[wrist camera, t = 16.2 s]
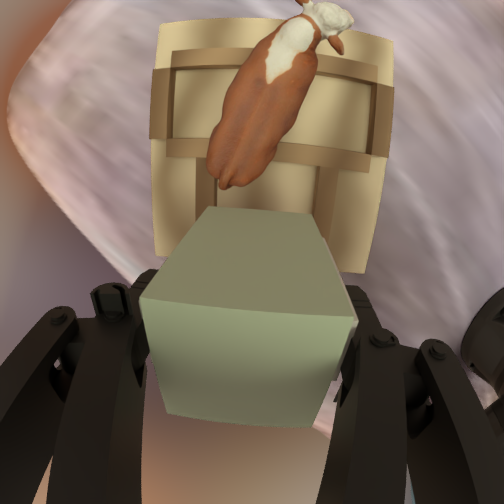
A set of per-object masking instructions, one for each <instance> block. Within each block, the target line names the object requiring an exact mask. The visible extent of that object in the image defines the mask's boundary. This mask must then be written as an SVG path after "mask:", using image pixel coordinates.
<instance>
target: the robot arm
mask: <svg viewBox="0 0 504 504" xmlns="http://www.w3.org/2000/svg"><path fill="white" fill-rule="evenodd" d="M323 241H324V243H325V245H326V248H327V250H328V252H329V255H330V257H331V259H332V262H333V264H334V266H335V269H336V271H337V274H338V276H339V279H340V281H341V284H342V286H343V289H344V291H345V294H346V296H347V299H348V301H349V304H350V306H351V309H352V312H353V314H354V320H353V323H352V326H351V329H350V332H349V335H348V338H347V341H346V344H345V346H344V349H343V352H342V355H341V357H340V360H339V363H338V365H337V368H336V371H335V373H334V376H333V378H332V381H336V380H337V378H338V375H339V373H340V370H341V374H342V379H343V381H342V383H341V386H340V388H339V390H338V392H337V394H336V396H335V399H334V401H333V402H337V406H336V413H335V419H334V424H333V430H332V435H331V440H330V446H329V450H328V455H327V460H326V465H325V469H324V473H323V477H322V481H321V485H320V489H319V493H318V497H317V500H316V504H404V500H405V488H406V471H407V464H408V469H409V474H410V479H411V497H412V504H504V289H502V290H501V291H499V292H498V293H497V294H496V295H495V296H493V297H492V298H491V299H490V300H489V301H488V302H487V303H486V305H485V306H484V307H483V308H482V309H481V311H480V312H479V313H478V315H477V316H476V317H475V319H474V320H473V322H472V324H471V325H470V327H469V329H468V331H467V333H466V335H465V338H464V340H463V344H462V349H461V354H462V358H463V360H464V361H465V363H466V365H467V366H468V368H469V369H470V370H471V371H472V372H474V373H475V374H476V375H478V376H479V377H480V378H482V379H483V380H484V381H486V382H487V383H488V384H490V385H491V386H492V387H493V388H494V390H495V392H496V393H497V395H498V397H499V398H498V399H497V400H496V401H495V402H494V403H492V404H491V405H490V406H489V407H487V408H486V409H485V410H484V409H483V407H482V405H481V402H480V400H479V398H478V396H477V394H476V392H475V390H474V388H473V387H472V385H471V383H470V381H469V379H468V377H467V375H466V373H465V372H464V370H463V368H462V366H461V364H460V363H459V361H458V359H457V357H456V356H455V354H454V352H453V351H452V349H451V348H450V347H449V346H448V345H447V344H445V343H444V342H443V341H440V340H437V339H427V340H425V341H424V342H423V343H422V344H421V346H420V348H419V349H417V348H412V347H407V346H403V345H400V344H399V341H398V338H397V337H396V336H395V335H394V334H393V333H392V332H390V331H389V330H387V329H384V328H382V326H381V324H380V322H379V320H378V318H377V316H376V314H375V311H374V309H373V308H372V305H371V303H370V302H369V299H368V297H367V295H366V293H365V292H364V291H363V290H362V289H361V288H359V287H358V286H351V285H344V282H343V280H342V278H341V275H340V273H339V270H338V268H337V266H336V263H335V261H334V259H333V256H332V254H331V252H330V250H329V247H328V245H327V243H326V241H325V238H323ZM158 271H159V270H156V269H149V270H147V271H145V272H144V273H142V274H141V275H140V276H139V277H138V278H137V280H136V282H134V283H133V285H132V286H131V288H130V289H128V287H127V286H126V285H124V284H121V283H106V284H103V285H100V286H98V287H96V288H95V289H93V291H92V292H91V293H90V295H91V299H92V302H93V306H94V310H95V313H96V316H95V318H77V317H76V313H75V311H74V310H73V309H72V308H70V307H68V306H59V307H55V308H53V309H51V310H50V311H48V312H47V313H46V314H45V315H44V316H43V317H42V318H41V319H40V320H39V321H38V322H37V323H36V324H35V326H34V327H33V328H32V329H31V330H30V331H29V332H28V333H27V335H26V336H25V337H24V338H23V339H22V340H21V342H20V343H19V344H18V345H17V346H16V347H15V349H14V350H13V351H12V353H10V355H9V356H8V357H7V358H6V360H5V361H4V362H3V364H2V365H1V366H0V504H32V502H33V500H34V497H35V494H36V492H37V490H38V487H39V485H40V482H41V480H42V478H43V476H44V473H45V471H46V469H47V466H48V464H49V462H50V460H51V458H52V456H53V459H52V464H51V470H50V477H49V483H48V492H47V501H46V504H142V498H141V453H142V452H141V451H142V429H143V412H144V399H145V388H146V377H147V366H146V362H145V360H146V358H147V356H148V354H149V353H150V357H151V361H152V356H151V352H150V348H149V344H148V339H147V335H146V330H145V325H144V320H143V315H142V310H141V304H140V298H139V297H140V296H141V294H142V293H143V291H144V290H145V289H146V287H147V286H148V284H149V283H150V282H151V280H152V279H153V277H154V276H155V275H156V273H157V272H158ZM57 359H58V360H59V362H60V365H59V366H58V367H57V368H55V366H54V363H55V362H56V360H57ZM152 363H153V361H152ZM429 396H430V398H431V400H432V404H431V403H430V401H429V399H428V398H429Z"/></svg>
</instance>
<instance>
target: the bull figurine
mask: <svg viewBox="0 0 504 504" xmlns="http://www.w3.org/2000/svg"><path fill="white" fill-rule="evenodd" d="M295 1H296V2H297V3H298V4H299V5H301V6H302V7H303V8H304V10H303V12H302V13H301V14H300V15H297V16H294V17H292V18H290V19H288V20H286V21H284V22H283V23H281V24H280V25H279V26H278V27H277V28H276V30H275V31H273V32H272V33H270V34H269V35H268V36H266V37H265V38H263V39H262V40H260V41H259V42H258V43H257V45H256V46H255V47H254V49H253V50H252V52H251V54H250V55H249V57H248V58H247V60H246V61H245V62H244V63H243V64H242V66H241V67H240V69H239V70H238V72H237V74H236V75H235V77H234V79H233V81H232V83H231V84H230V86H229V87H228V89H227V92H226V94H225V98H224V102H223V107H222V117H221V120H220V122H219V123H218V124H217V125H216V126H215V127H214V129H213V131H212V133H211V136H210V140H209V146H208V151H207V156H206V168H207V171H208V173H209V174H210V175H211V176H213V177H214V178H216V179H219V182H218V187H219V189H221V190H227V189H229V188H231V187H232V186H237V187H244V186H246V185H248V184H250V183H251V182H252V181H254V180H255V179H257V178H258V177H259V176H261V175H262V174H263V172H264V171H265V169H266V167H267V166H268V164H269V163H270V162H271V161H272V159H273V158H274V156H275V154H276V151H277V144H278V143H279V142H280V140H281V139H282V137H283V136H284V135H285V134H287V133H288V131H289V130H290V129H291V128H292V127H293V125H294V123H295V122H296V119H297V116H298V113H299V110H300V108H301V105H302V103H303V101H304V99H305V97H306V95H307V92H308V90H309V87H310V85H311V83H312V81H313V79H314V77H315V74H316V71H317V67H318V58H317V55H316V52H315V50H316V48H317V45H318V44H319V43H320V42H321V41H322V40H325V39H327V40H328V42H329V43H330V45H331V46H332V47H333V49H334V50H336V52H337V53H338V54H339V55H341V56H342V55H344V45H343V42H342V41H341V40H340V38H339V37H338V35H339V34H340V33H342V32H343V31H344V30H346V29H348V28H350V27H351V26H352V24H353V23H354V19H353V18H352V16H351V15H350V13H349V12H348V11H347V10H344V9H341V8H340V7H339V6H337V5H336V4H333V3H329V2H321V3H317V4H314V3H313V2H312V1H311V0H295Z"/></svg>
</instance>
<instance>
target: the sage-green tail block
mask: <svg viewBox="0 0 504 504" xmlns="http://www.w3.org/2000/svg"><path fill="white" fill-rule="evenodd" d="M139 298H140V304H141V310H142V315H143V320H144V325H145V330H146V335H147V339H148V344H149V348H150V352H151V356H152V361H153V364H154V369H155V372H156V376H157V380H158V383H159V387H160V390H161V394H162V398H163V401H164V404H165V408H166V411H167V413H169V414H174V415H179V416H184V417H190V418H196V419H202V420H208V421H215V422H223V423H232V424H241V425H253V426H268V427H300V428H302V427H303V428H306V427H312V425H313V423H314V420H315V418H316V416H317V414H318V412H319V409H320V407H321V405H322V403H323V400H324V398H325V395H326V393H327V391H328V388H329V386H330V383H331V381H332V378H333V376H334V373H335V371H336V368H337V365H338V363H339V360H340V357H341V355H342V352H343V349H344V346H345V344H346V341H347V338H348V335H349V332H350V329H351V326H352V323H353V320H354V314H353V312H352V309H351V306H350V304H349V301H348V299H347V296H346V294H345V291H344V289H343V286H342V284H341V281H340V279H339V276H338V274H337V271H336V269H335V266H334V264H333V262H332V259H331V257H330V255H329V252H328V250H327V248H326V245H325V243H324V241H323V238H322V236H321V234H320V232H319V229H318V227H317V225H316V223H315V221H314V218H313V216H312V214H303V213H293V212H282V211H270V210H258V209H245V208H231V207H215V206H208V207H207V208H206V210H205V211H204V212H203V213H202V214H201V216H200V217H199V218H198V220H197V221H196V222H195V223H194V225H193V226H192V227H191V228H190V230H189V231H188V232H187V234H186V235H185V236H184V237H183V239H182V240H181V241H180V243H179V244H178V245H177V247H176V248H175V249H174V250H173V252H172V253H171V254H170V256H169V257H168V258H167V260H166V261H165V262H164V264H163V265H162V267H161V268H160V269H159V271H158V272H157V273H156V275H155V276H154V277H153V279H152V280H151V282H150V283H149V284H148V286H147V287H146V289H145V290H144V291H143V293H142V294H141V296H140V297H139Z"/></svg>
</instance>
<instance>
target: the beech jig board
mask: <svg viewBox="0 0 504 504" xmlns="http://www.w3.org/2000/svg"><path fill="white" fill-rule="evenodd" d="M284 21H286V20H282V19H266V18H215V19H200V20H189V21H180V22H172V23H165V24H160V29H159V37H158V45H157V53H156V63H155V69H153V75H152V88H151V104H150V131H149V139H151V186H152V212H153V229H154V243H155V254H156V256H165V257H169V256H170V254H171V253H172V252H173V250H174V249H175V248H176V247H177V245H178V244H179V243H180V241H181V240H182V239H183V237H184V236H185V235H186V234H187V232H188V231H189V230H190V228H191V227H192V226H193V225H194V223H195V222H196V221H197V220H198V218H199V217H200V216H201V214H202V213H203V212H204V211H205V210H206V208H207V207H208V206H215V207H231V208H245V209H258V210H270V211H282V212H293V213H303V214H312V216H313V218H314V221H315V223H316V225H317V227H318V229H319V232H320V234H321V236H322V238H325V241H326V243H327V245H328V247H329V250H330V252H331V254H332V256H333V259H334V261H335V263H336V266H337V268H338V270H339V272H350V273H363V274H364V272H365V268H366V264H367V260H368V256H369V252H370V248H371V244H372V239H373V234H374V230H375V225H376V220H377V215H378V210H379V204H380V199H381V193H382V187H383V181H384V174H385V167H386V160H387V158H388V156H389V148H390V139H391V129H392V118H393V104H394V87H393V41H391V40H388V39H385V38H381V37H378V36H374V35H370V34H367V33H363V32H358V31H354V30H350V29H346V30H344V31H343V32H342V33H340V34H339V35H338V37H339V38H340V40H341V41H342V42H343V45H344V55H342V56H341V55H339V54H338V53H337V52H336V50H334V49H333V47H332V46H331V45H330V43H329V42H328V40H327V39H325V40H322V41H321V42H320V43H319V44H318V45H317V48H316V50H315V52H316V55H317V58H318V67H317V71H316V74H315V77H314V79H313V81H312V83H311V85H310V87H309V90H308V92H307V95H306V97H305V99H304V101H303V103H302V105H301V108H300V110H299V113H298V116H297V119H296V122H295V123H294V125H293V127H292V128H291V129H290V130H289V131H288V133H287V134H285V135H284V136H283V137H282V139H281V140H280V142H279V143H278V144H277V151H276V154H275V156H274V158H273V159H272V161H271V162H270V163H269V164H268V166H267V167H266V169H265V171H264V172H263V174H262V175H261V176H259V177H258V178H257V179H255V180H254V181H252V182H251V183H250V184H248V185H246V186H244V187H237V186H232V187H231V188H229V189H227V190H221V189H219V187H218V182H219V179H216V178H214V177H213V176H211V175H210V174H209V173H208V171H207V168H206V156H207V151H208V146H209V140H210V136H211V133H212V131H213V129H214V127H215V126H216V125H217V124H218V123H219V122H220V120H221V117H222V107H223V102H224V98H225V94H226V92H227V89H228V87H229V86H230V84H231V83H232V81H233V79H234V77H235V75H236V74H237V72H238V70H239V69H240V67H241V66H242V64H243V63H244V62H245V61H246V60H247V58H248V57H249V55H250V54H251V52H252V50H253V49H254V47H255V46H256V45H257V43H258V42H259V41H260V40H262V39H263V38H265V37H266V36H268V35H269V34H270V33H272V32H273V31H275V30H276V28H277V27H278V26H279V25H280V24H281V23H283V22H284Z"/></svg>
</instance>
